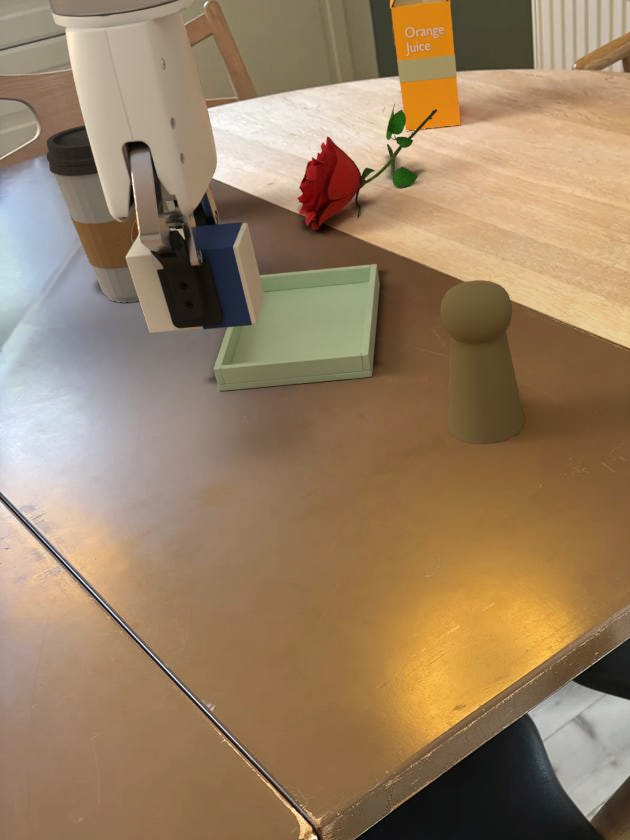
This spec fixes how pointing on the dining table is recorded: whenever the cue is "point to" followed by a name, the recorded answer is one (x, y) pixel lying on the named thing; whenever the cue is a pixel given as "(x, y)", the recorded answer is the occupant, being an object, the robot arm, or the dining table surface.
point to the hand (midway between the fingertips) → (205, 305)
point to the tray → (305, 330)
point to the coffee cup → (93, 213)
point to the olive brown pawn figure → (480, 364)
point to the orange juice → (426, 62)
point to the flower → (348, 175)
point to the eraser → (230, 272)
